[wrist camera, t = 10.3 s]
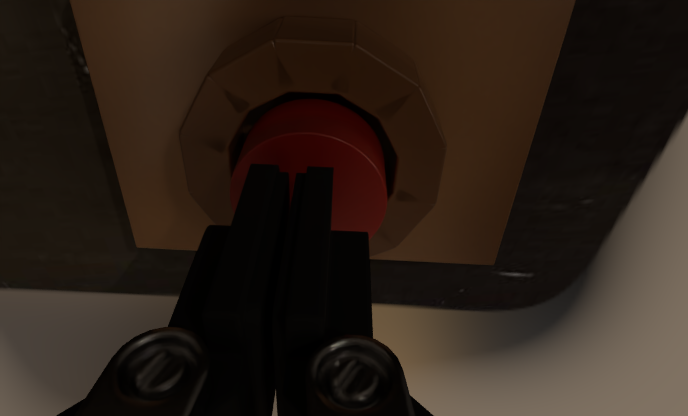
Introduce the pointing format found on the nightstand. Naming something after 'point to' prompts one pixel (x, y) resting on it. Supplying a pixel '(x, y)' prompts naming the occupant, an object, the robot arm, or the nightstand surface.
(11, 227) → the nightstand surface
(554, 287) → the nightstand surface
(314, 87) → the red push button box
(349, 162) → the button
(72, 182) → the nightstand surface
